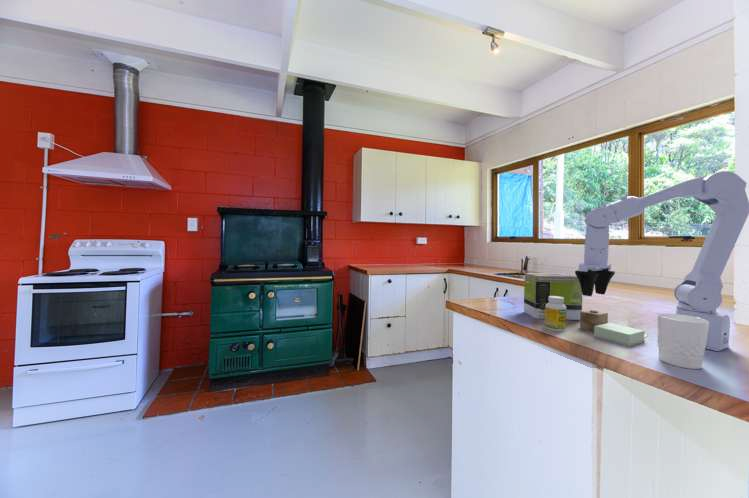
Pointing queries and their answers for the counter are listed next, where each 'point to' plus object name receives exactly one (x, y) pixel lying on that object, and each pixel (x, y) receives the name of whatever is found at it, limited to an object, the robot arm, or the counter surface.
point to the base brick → (619, 334)
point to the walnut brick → (592, 319)
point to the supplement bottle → (555, 314)
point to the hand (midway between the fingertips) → (593, 294)
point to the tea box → (552, 293)
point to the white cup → (682, 340)
